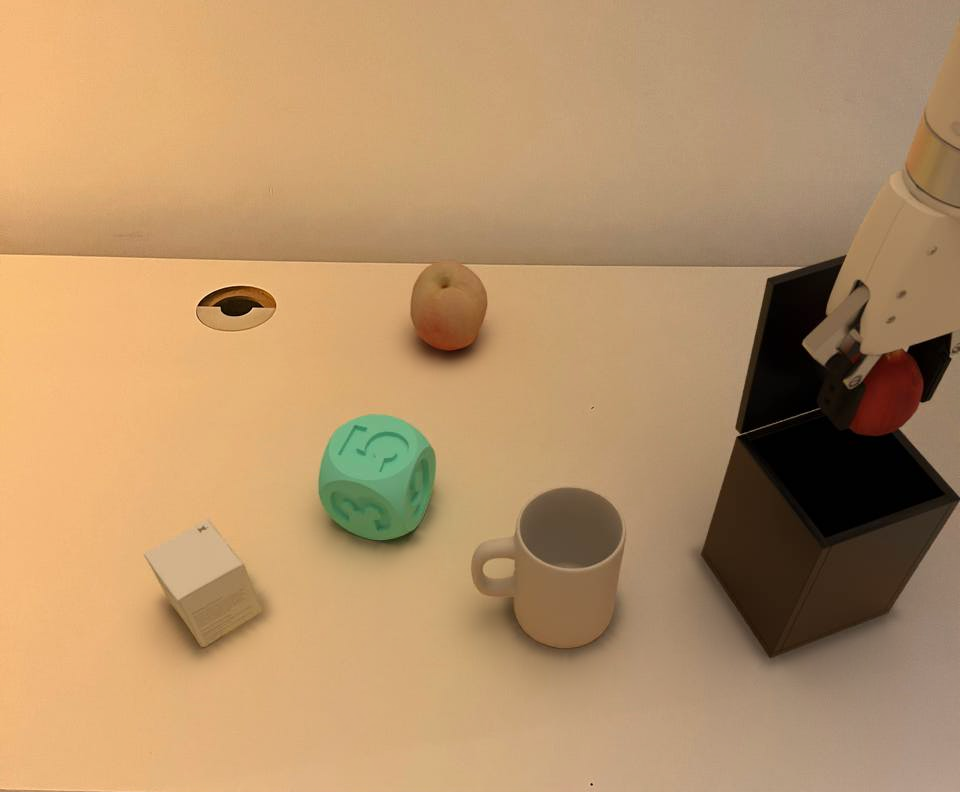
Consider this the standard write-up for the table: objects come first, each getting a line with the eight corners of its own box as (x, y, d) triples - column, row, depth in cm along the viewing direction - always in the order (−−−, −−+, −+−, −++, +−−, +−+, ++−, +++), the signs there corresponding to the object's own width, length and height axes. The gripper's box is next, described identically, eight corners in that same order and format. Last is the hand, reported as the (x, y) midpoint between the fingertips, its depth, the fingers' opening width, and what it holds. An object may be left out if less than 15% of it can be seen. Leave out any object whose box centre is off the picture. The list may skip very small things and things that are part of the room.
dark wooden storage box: (888, 613, 79) (961, 498, 67) (769, 658, 77) (822, 549, 65) (813, 514, 85) (867, 392, 72) (700, 554, 83) (736, 435, 70)
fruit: (397, 347, 98) (389, 282, 91) (439, 303, 101) (434, 237, 95) (461, 374, 95) (459, 309, 89) (502, 328, 99) (502, 263, 92)
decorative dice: (360, 465, 89) (349, 403, 82) (439, 486, 88) (433, 424, 81) (325, 528, 85) (310, 468, 78) (407, 551, 84) (398, 492, 77)
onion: (866, 392, 70) (905, 303, 63) (917, 442, 67) (963, 356, 61) (802, 418, 69) (835, 330, 62) (852, 470, 66) (891, 385, 59)
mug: (606, 564, 82) (619, 481, 73) (618, 647, 78) (634, 569, 69) (471, 571, 82) (466, 489, 73) (475, 654, 78) (471, 577, 69)
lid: (926, 238, 62) (918, 232, 62) (773, 284, 60) (766, 277, 60) (872, 391, 72) (866, 385, 72) (740, 434, 70) (734, 428, 70)
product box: (168, 602, 81) (140, 551, 75) (229, 567, 83) (207, 515, 77) (202, 650, 79) (176, 601, 72) (264, 613, 81) (245, 562, 74)
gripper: (1065, 85, 54) (941, 336, 69) (807, 157, 51) (737, 402, 66) (1161, 154, 50) (1007, 402, 66) (889, 236, 47) (794, 476, 62)
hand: (872, 400), depth 66 cm, fingers closed on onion, 5 cm apart
